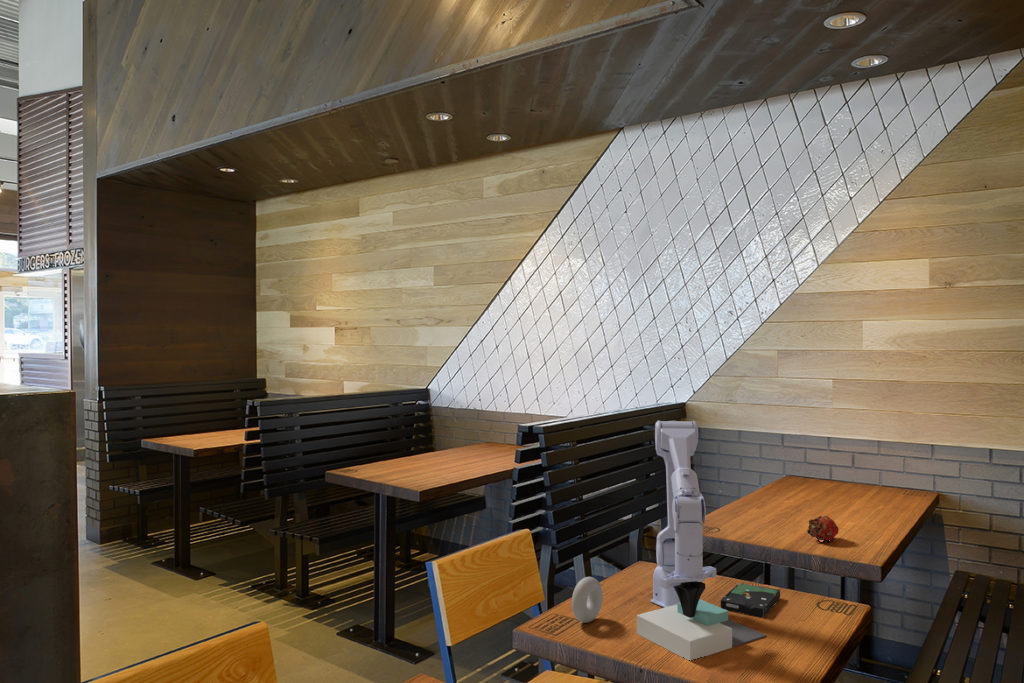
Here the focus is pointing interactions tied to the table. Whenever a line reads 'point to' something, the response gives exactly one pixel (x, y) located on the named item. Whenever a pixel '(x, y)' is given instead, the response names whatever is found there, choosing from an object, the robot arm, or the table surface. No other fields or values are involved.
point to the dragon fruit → (823, 528)
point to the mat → (742, 633)
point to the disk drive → (750, 599)
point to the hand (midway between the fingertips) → (688, 615)
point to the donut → (580, 605)
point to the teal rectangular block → (707, 613)
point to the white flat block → (683, 633)
